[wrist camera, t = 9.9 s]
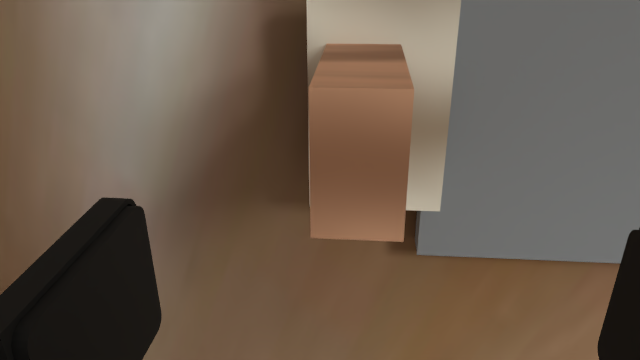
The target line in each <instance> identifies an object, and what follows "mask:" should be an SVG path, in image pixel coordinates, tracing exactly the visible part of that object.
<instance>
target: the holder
mask: <svg viewBox="0 0 640 360" xmlns="http://www.w3.org/2000/svg"><path fill="white" fill-rule="evenodd" d="M639 228H640V0H461V8H460V18H459V28H458V38H457V48H456V58H455V67H454V77H453V87H452V97H451V107H450V117H449V127H448V137H447V147H446V156H445V166H444V176H443V186H442V196H441V206H440V211H417V217H416V230H415V244H416V251H417V255H434V256H458V257H481V258H505V259H528V260H552V261H576V262H599V263H621V260H622V257H623V253H624V250H625V246H626V243H627V239H628V236H629V234H630V232H631V231H632V230H639Z"/></svg>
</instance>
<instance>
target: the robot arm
mask: <svg viewBox="0 0 640 360" xmlns="http://www.w3.org/2000/svg"><path fill="white" fill-rule="evenodd" d="M160 323H161V308H160V302H159V296H158V290H157V284H156V278H155V272H154V267H153V261H152V255H151V249H150V243H149V237H148V231H147V225H146V219H145V214H144V210H143V208H142V207H140V206H136V204H135V202H134V201H133V200H132V199H124V198H101V199H100V200H99V201H98V202H96V203H95V204H94V205H93V206H92V207H91V208H90V209H89V210H88V211H87V212H86V213H85V214H84V215H83V216H82V217H81V218H80V219H79V220H78V221H77V222H76V223H75V224H74V225H73V226H72V227H71V228H70V229H68V230H67V231H66V232H65V233H64V234H63V235H62V236H61V237H60V238H59V239H58V240H57V241H56V242H55V243H54V244H53V245H52V246H51V247H50V248H49V249H48V250H47V251H46V252H45V253H44V254H43V255H41V256H40V257H39V258H38V259H37V260H36V261H35V262H34V263H33V264H32V265H31V266H30V267H29V268H28V269H27V270H26V271H25V272H24V273H23V274H22V275H21V276H20V277H19V278H18V279H17V280H16V281H14V282H13V283H12V284H11V285H10V286H9V287H8V288H7V289H6V290H5V291H4V292H3V293H2V294H1V295H0V360H142V359H143V357H144V355H145V353H146V352H147V350H148V348H149V346H150V344H151V343H152V341H153V339H154V337H155V335H156V334H157V332H158V330H159V327H160ZM598 356H599V360H640V228H639V230H632V231H631V232H630V234H629V236H628V239H627V243H626V246H625V250H624V253H623V257H622V260H621V264H620V267H619V271H618V274H617V278H616V281H615V285H614V288H613V292H612V295H611V299H610V302H609V306H608V309H607V313H606V316H605V320H604V323H603V327H602V330H601V334H600V337H599V341H598Z"/></svg>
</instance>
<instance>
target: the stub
mask: <svg viewBox="0 0 640 360" xmlns="http://www.w3.org/2000/svg"><path fill="white" fill-rule="evenodd" d="M460 8H461V0H307V68H308V139H309V207H310V225H311V238H321V239H346V240H371V241H395V242H404V228H405V214H406V210H413V211H440V206H441V196H442V186H443V176H444V166H445V156H446V147H447V137H448V127H449V117H450V107H451V97H452V87H453V77H454V67H455V58H456V48H457V38H458V28H459V18H460Z"/></svg>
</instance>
